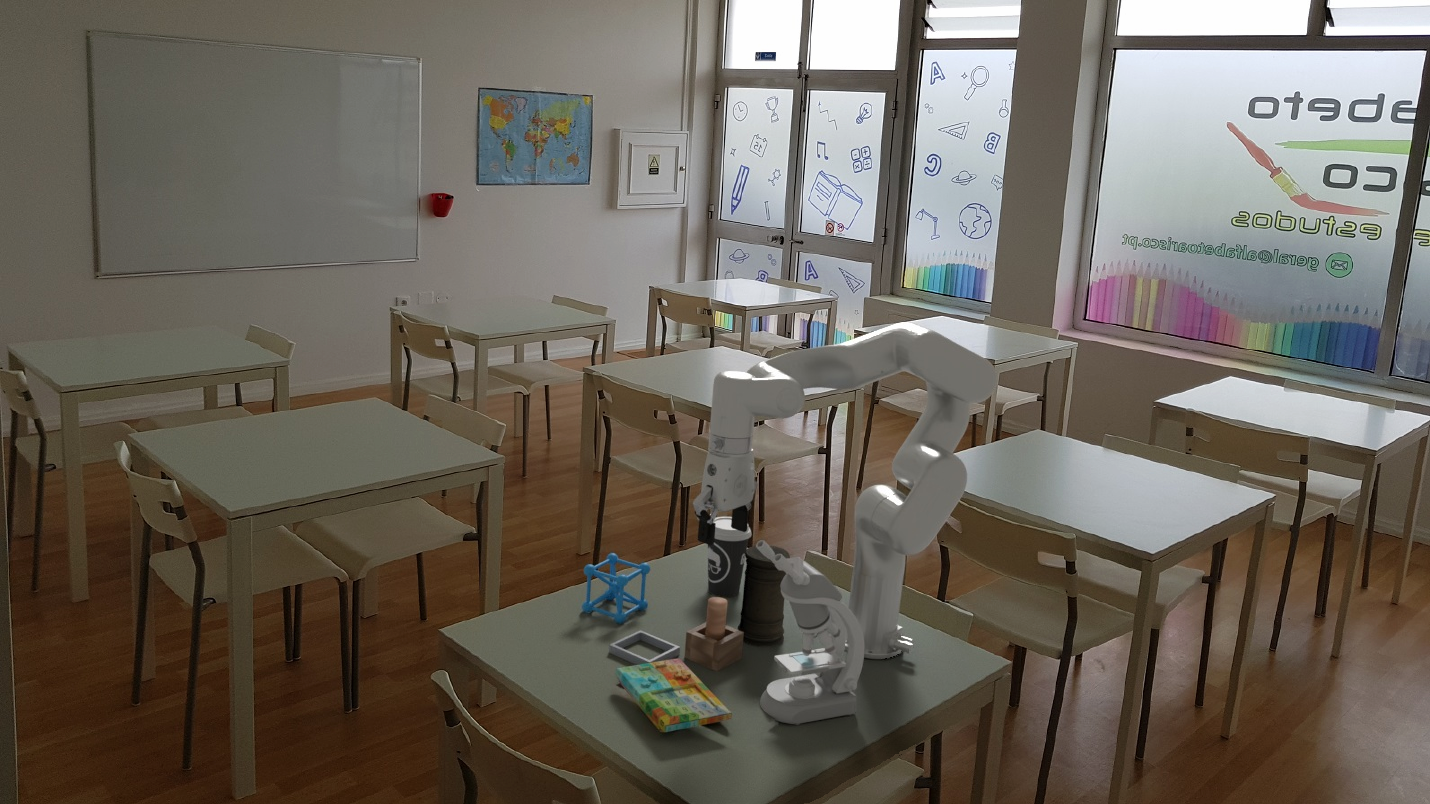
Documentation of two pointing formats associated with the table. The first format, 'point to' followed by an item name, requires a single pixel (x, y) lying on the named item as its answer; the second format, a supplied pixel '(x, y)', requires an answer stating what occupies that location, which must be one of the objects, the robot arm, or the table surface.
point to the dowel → (716, 618)
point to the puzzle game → (671, 695)
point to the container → (762, 600)
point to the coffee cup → (726, 558)
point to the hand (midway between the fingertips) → (722, 536)
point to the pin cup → (713, 647)
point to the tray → (670, 648)
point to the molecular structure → (615, 587)
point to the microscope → (833, 676)
